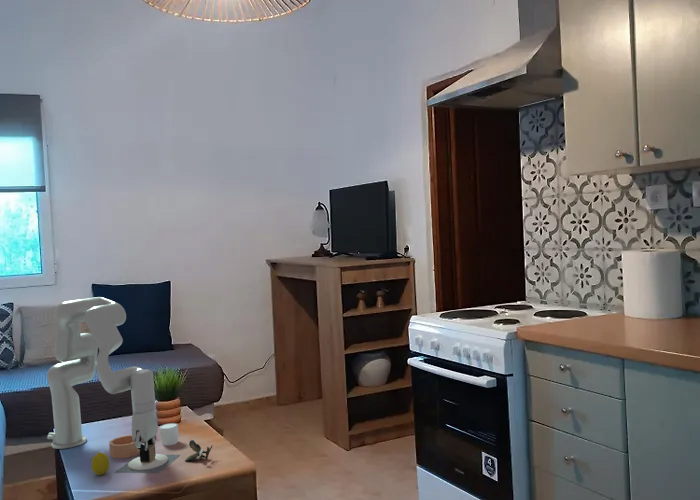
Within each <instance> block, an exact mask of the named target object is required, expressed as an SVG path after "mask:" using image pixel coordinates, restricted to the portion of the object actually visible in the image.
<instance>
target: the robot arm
mask: <svg viewBox="0 0 700 500" xmlns="http://www.w3.org/2000/svg"><path fill="white" fill-rule="evenodd" d="M54 314H55V315H54V317H55V323H56V331H55V341H54V350H53V351H54V358H55V359H56V360H57V361H59V363H56V364H54V365H52V366H50V367H49V369H48V370H47V372H46V379H47V382H48V386H49V389H50V394H51V405H52V414H53V415H52V416H53V425H54V426H53V427H54V431H53V432H48V434H47V436H46V438H47V439H48V440H52V442H51V444H50V446H51V447H52V449H57V450H65V449H71V448H75V447H79V446H81V445H84V444H85V443H86V442H87V440H88V438H87V436H86V435H83V431H82V430H83V429H82V417H81V405H80V396H79V394H78V392H76V390H75V389H74V388H73V386H76V385H79V384H83V383H87V382H89V381H92V379H93V378H94V376H95V374H97V377H98V378H99V381H100V383H101V385H102V387H103V388H104V390H105V391H106V392H107V393H109V394H111V395H116V394H121V393H124V392H126V391H129V390H130V392H131V393H130V395H131V406H132V415H131V429H132V431H131V435H132V441H133V442H135V447H137V448H138V450H139V452H140V453H139V455H140V461H141V462H149V461H150V459H149V450H147V449H148V445H154V450H155V451H156V439H157V435H158V432H159V423H158V417H157V410H156V409H157V408H156V407H157V406H156V396H155V382H154V372H153V371H152V370H151V369H146V368H145V369H143V368H141V367H139V366H135V365H134V366H130V367H126V368H123V369H118V370H114V371H113V370H112V368H111V365H110V363H109V355H111V354H112V353H113V352H114V351H116V350H117V349H119V347H120V346H122V344H123V341H124V339H123V337H122V335H121V333H120V331H119V329H118V326H121V325H123V324H124V323H125V322H126V320H127V313H126V310H125V308H124V307H123V306H122V304H120V303H118V302H116V301H113V300H111V299H108V298H105V297H102V296H97V297H88V298H81V299H80V298H79V299H73V300H66V301H63V302H60V303H59V304H58V305H57V306H56V308H55V312H54ZM84 322H85V323H86V326H87V327H88V330H89V332H83V333H82V325H81V323H84ZM95 372H96V373H95ZM141 439H142V441H141ZM156 454H157V453H155V456H156Z"/></svg>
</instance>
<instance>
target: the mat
mask: <svg viewBox="0 0 700 500" xmlns="http://www.w3.org/2000/svg"><path fill="white" fill-rule="evenodd" d="M165 455H166V456H167V457H168V461H167V463H166V464H164V465H162V466H160V467H158V468H155V469H150V470H144V471H135V470H131V469H129V468H128V463H129V462H130V461H131V460H133V459H135V458H137V457H140V454H137V455H135V457H134V458H132V459H131V460H130V461H128V462H126V464H124V465H123V466H121V467H119V469H117V470H116V471H114V473H122V474H123V473H130V474H132V473H133V474H160V473H161V472H162V471H163V470H164V469H166V468H167V467H168V466H169V465H171V463H173V462H175V460H176V459H178V458H179V457H180V456H181V454H165Z"/></svg>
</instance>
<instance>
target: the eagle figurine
mask: <svg viewBox="0 0 700 500" xmlns="http://www.w3.org/2000/svg"><path fill="white" fill-rule="evenodd" d="M188 443H189V444H188V446H189V447H190V449H192V451H193V452H196V453H192V454H189V455H188V456H187V458H185V460H184V462H189V461H193V460H196V459H197V458H203V459H205V460H206V461H208V460H209V459H208V458H209V455H210V453H211V450H212V449H213V444H211V446H210V447H209V446H207V447H206V451H205V450H204V448H202V447H201V446H200V444H198V443H196V442H195V440H192V439H191V440H189V442H188ZM204 454H205V455H204Z"/></svg>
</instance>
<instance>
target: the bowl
mask: <svg viewBox="0 0 700 500" xmlns="http://www.w3.org/2000/svg"><path fill="white" fill-rule="evenodd" d="M141 441H143V439H141ZM108 443H109V444H108V445H109V455H110V456H109V457H111V458H113V459H126V458H132V457H134V456H135V457H136V456H138V455H140V452H139V450H138V448H137V447H135V442H133V441H132V434H128V435H121V436H118V437H116V438H113V439H111V440H109V442H108Z"/></svg>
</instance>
